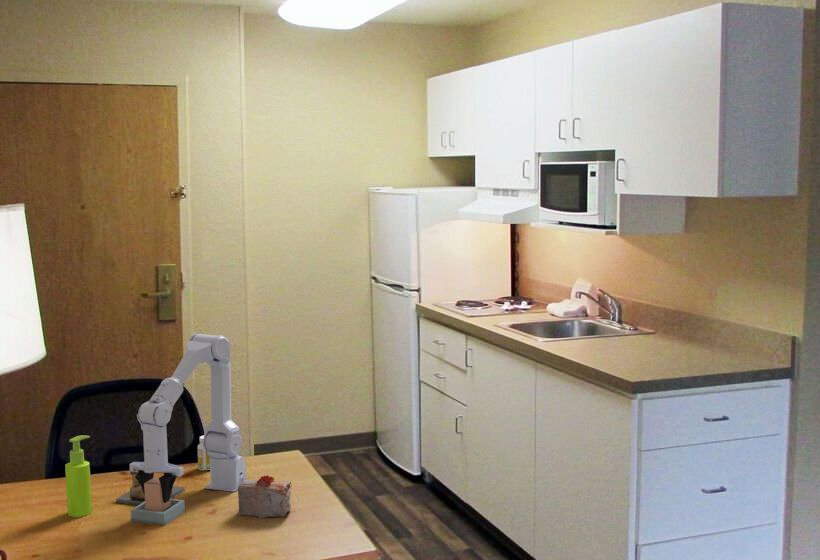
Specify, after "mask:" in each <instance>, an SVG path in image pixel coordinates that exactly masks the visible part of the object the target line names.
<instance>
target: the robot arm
mask: <svg viewBox="0 0 820 560" xmlns="http://www.w3.org/2000/svg"><path fill="white" fill-rule="evenodd" d="M231 362H232V359H231V341H230V340H229V339H228V338H226V336H224V335H215V334H213V335H212V334H205V333H193V334H192V335H191V336H190V338H188V341H187V342H186V344H185V353H184V355H183V357H182V358H181V360H180V361H179V363H178V365H177V367H176V368H175V370H174V372H173V374H172V375H171V377H167V378H166V377H165V378H164V379H163V380H162V381H161V383H160V384H159V386H158V388H157V389H156V390H155V392H154V393H153V394H152V396H151V397H150V399H149V400H148V401H146V402H144V403H142V404H141V406H140V407H139V408H138V411H137V412H138V413H137V414H136V417H137V420H138V422H139V424H140V428H141V429H140V430H141V431H142V435H143V457H144V458H143V459H144V461H133V462H131V463H129V472H138V474H137V475H136V476H135V478H136V480H137V481H138V482H139V484H140V486H141V488H142V490H143V493H144V496H145V490H144V483H146V482H147V481H149V480H151V479H153V478H154V477H155V474H162V475H161V476H160V477H158V478H159V481H160V484H161V488H162V498H163V503H166V502H168V501H169V500H170V496H171V491H172V488H173V486H175V485H174V484H175V482H176V481H177V478H178V477H181V476H183V475H184V471H185V469H184V466H179V465H177V464H172V463H169V461H168V460H169V457H168V456H169V455H168V438H167V437H168V435H167V434H168V433H167V424H168V423H169V422H170V420H171V417H172V412H173V410H174V406H175V404H176V402H177V401H178V400H179V398H180V397H181V395H182V394H183V393H184V386H183V385H184V383H185V382H186V381H187V379H188V378H189V377H190V376H191V375H192V373H193V372H194V371H195V369H196V368H197V367H198V366H199V364H202V363H203V364H204V363H206V364H208V365H209V366H210V394H211V395H210V401H211V403H210V406H211V408H210V411H211V412H210V413H211V414H210V415H211V417H210V418H211V419H210V420H211V421H210V422H209V423H208V424H207V425H206V426H205V427H204V435H203V436H204V438H203V447H204V449H205V450H206V451H207V453H208V455H209V456H210V471H209V473H210V474H209V475H210V476H209V477H210V482H209V483H208V484H206V485H205V486H204V489H207V490H213V491H215V490H216V491H225V492H236V491H238V486H239V485H240V484H241V483H242V482H243V481H244V480H247V468H246V459H245V457H243V456H241V455H239V453H240V451H241V449H242V446H243V445H242V444H243V439H242V436H241V434H240V427H239V426H238V425H237V424H236V423H235V421H233V420H232V368H231V366H232V365H231V364H232V363H231Z"/></svg>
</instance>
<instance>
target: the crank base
mask: <svg viewBox="0 0 820 560" xmlns="http://www.w3.org/2000/svg"><path fill="white" fill-rule="evenodd" d="M183 491H184V492H185V491H186V487H185V486H177V485H173V488H172V491H171V496H170V499H172V498H173V499H174V498H176V497H177V496H178V495H180V494H182V493H183ZM175 496H176V497H175ZM116 502H119V503H118V504H125V503H127V504H126V505H136V506H138V505H140V504H141V503H143V502H145V499H137V498H133V497H131V496H130V490H129V491H127V492H126V493H123V494H122V495H120V496H118V497H116V498H115V503H116Z"/></svg>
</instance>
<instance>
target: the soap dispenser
mask: <svg viewBox="0 0 820 560" xmlns="http://www.w3.org/2000/svg"><path fill="white" fill-rule="evenodd" d="M89 438H91V436H90V435H83V434H82V435H77V436H75V437H72V438H70V439H69V440H68V441H69V442H68V443H72V449H71V450H69V462H68V463H66V464H65V466H64V467H65V469H64V470H65V471H64V472H65V487H66V489H65V490H66V505H67V506H66V507H67V516H68V515H69V516H68V517H70V516H71V517H70V518H83V517H85V515H86V516H89V515H91V514H92V512H93V507H92V505H93V504H92V487H91V486H92V485H91V468H90V462H89V461H87V460H85V452H84V451H85V450H84V449H83V448H81V444H80V443H81V441H82V440H85V439H89ZM82 516H83V517H82Z"/></svg>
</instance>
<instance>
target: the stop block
mask: <svg viewBox="0 0 820 560" xmlns="http://www.w3.org/2000/svg"><path fill="white" fill-rule="evenodd" d="M144 490H145V510H151V511H159V512H161V511H163V510H164V509H166V508H167V507H169V506H170V505H171V503H170V500H169V501H168V502H166V503H163V498H162V488H161V484H160V481H159V477H153V479H151V480H149V481H147V482H146V483H144Z"/></svg>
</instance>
